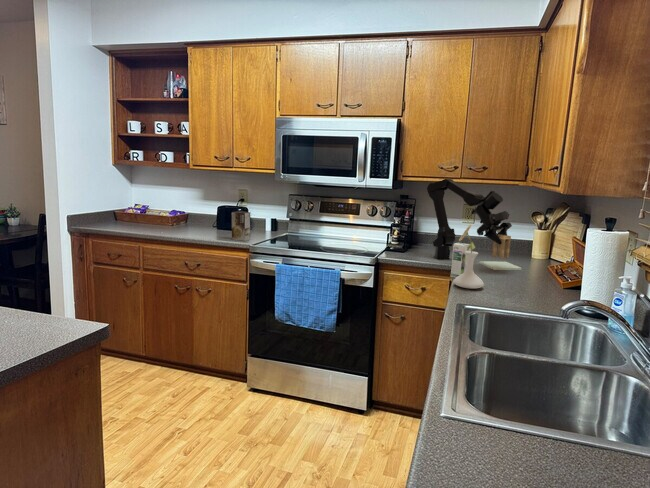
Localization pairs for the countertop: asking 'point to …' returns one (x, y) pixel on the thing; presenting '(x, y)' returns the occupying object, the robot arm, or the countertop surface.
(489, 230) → the robot arm
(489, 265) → the board
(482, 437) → the countertop surface
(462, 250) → the syrup box
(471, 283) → the flower in vase
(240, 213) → the coffee box
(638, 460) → the countertop surface
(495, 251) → the wooden footstool
